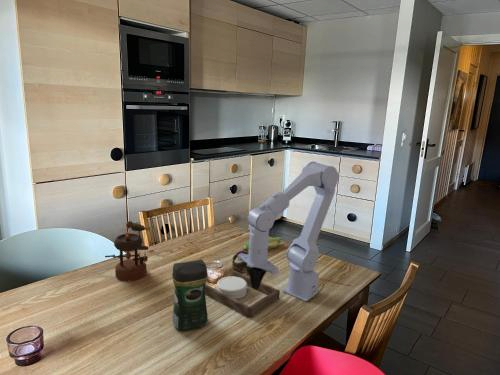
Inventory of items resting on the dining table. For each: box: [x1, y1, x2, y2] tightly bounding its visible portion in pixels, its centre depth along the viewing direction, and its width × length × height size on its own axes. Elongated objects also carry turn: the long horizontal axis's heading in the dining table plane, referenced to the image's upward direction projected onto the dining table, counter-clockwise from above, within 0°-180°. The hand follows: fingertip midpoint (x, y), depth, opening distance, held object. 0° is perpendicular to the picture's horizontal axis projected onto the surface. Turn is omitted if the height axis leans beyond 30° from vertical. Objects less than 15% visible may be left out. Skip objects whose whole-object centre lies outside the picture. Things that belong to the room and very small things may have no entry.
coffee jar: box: [171, 258, 209, 332], centre depth 101 cm, size 10×8×19 cm
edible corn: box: [243, 236, 282, 252], centre depth 157 cm, size 5×20×5 cm
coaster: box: [216, 275, 248, 300], centre depth 120 cm, size 10×10×4 cm
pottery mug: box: [231, 248, 249, 271], centre depth 138 cm, size 12×10×8 cm
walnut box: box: [205, 269, 281, 319], centre depth 118 cm, size 20×15×3 cm
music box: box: [104, 220, 151, 282], centre depth 126 cm, size 15×11×20 cm
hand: (255, 287), depth 113 cm, fingers closed
